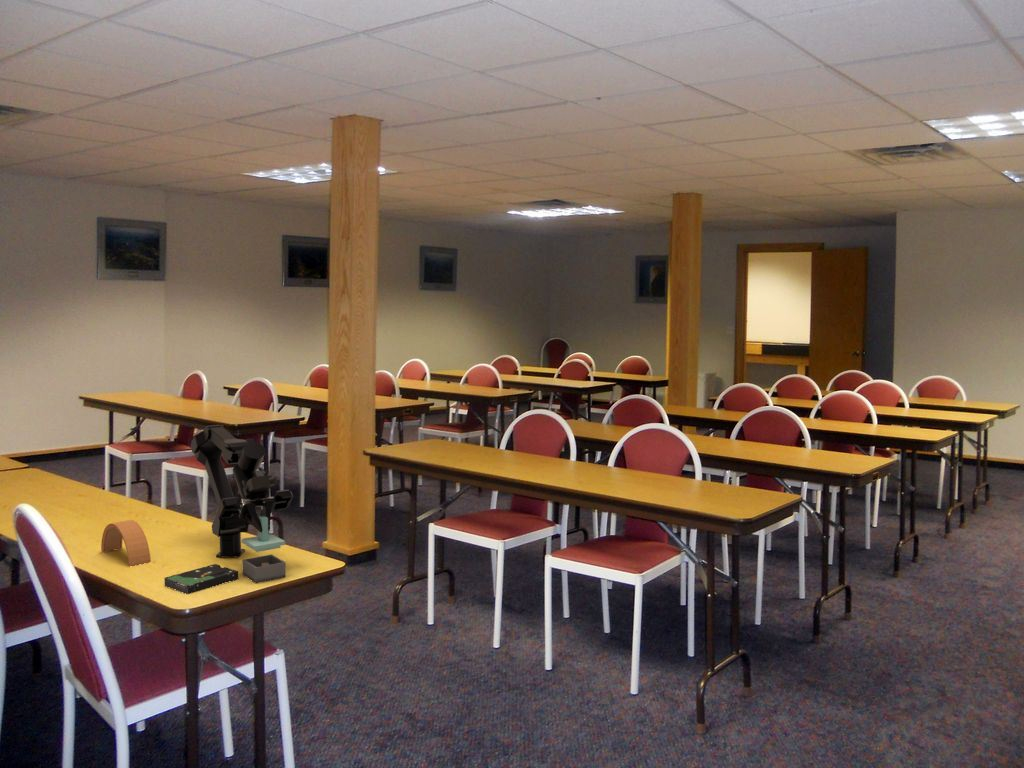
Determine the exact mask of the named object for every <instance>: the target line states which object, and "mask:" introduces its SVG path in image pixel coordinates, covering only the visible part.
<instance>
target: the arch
mask: <svg viewBox="0 0 1024 768" xmlns="http://www.w3.org/2000/svg"><path fill="white" fill-rule="evenodd" d="M141 526H142V525H140V524H139V523H138V522H137V521H136V520H134V519H129V520H122V521H119V522H113V523H109V524H107V525H106V526H105V528H104V530H103V533H102V536H101V544H100V547H101V549H100V551H102V552H101V553H105V552H104V551H108V552H110V551H109V550H113V551H115V550H114V549H118V550H121V549H120V548H122V549H123V542H124V546H125V549H126V554H127V561H128V567H130V566H132V567H136V566H140V565H139V564H141V565H145V564H144V563H146V564H149V562H151V553H150V548H149V543H148V539H147V536H146V535H145V534H146V533H145V531H144V530H143V528H142V527H141ZM135 565H136V566H135Z"/></svg>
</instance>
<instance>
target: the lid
mask: <svg viewBox="0 0 1024 768" xmlns="http://www.w3.org/2000/svg"><path fill="white" fill-rule="evenodd" d="M258 518H259V520H260V523H261V526H262V529H263V531H262V532H259V531H258V530H257V536H250V537H245V538H243V537H242V538H241V544H244V545H246V547H248V548H250V549H251V550H253V551H255V552H257V553H260V552H264V551H265V552H266V551H269V550H275V549H280V548H281V546H282V547H283V546H285V545H286V540H284V539H282V538H280V537H278V536H277V535H274V534H272V533H269V531H268V518H267V517H265V516H261V515H258Z"/></svg>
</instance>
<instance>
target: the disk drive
mask: <svg viewBox="0 0 1024 768" xmlns="http://www.w3.org/2000/svg"><path fill="white" fill-rule="evenodd" d="M237 579H238V580H239V571H238V570H235V569H232V568H229V567H227V566H224V567H221V565H220V564H217V563H214V564H209V565H207V566H202V567H199V568H195V569H192V570H191V569H190V570H187V571H184V572H181V573H177V574H173V575H170V576H166V577H164V587H166V586H167V587H166V588H168V587H170V588H169V589H171V588H173V589H172V590H174V589H176V590H175V591H177V590H178V591H177V592H179V591H180V593H182V592H183V594H185V593H186V595H189V594H193V593H197V592H200V591H203V590H206V588H207V589H210V587H211V588H213V587H212V586H214V587H217V586H220V585H219V584H221V585H223V584H222V583H224V584H226V583H225V582H228V583H230V582H229V581H231V582H234V581H237ZM233 580H234V581H233ZM216 585H217V586H216Z"/></svg>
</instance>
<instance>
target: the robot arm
mask: <svg viewBox="0 0 1024 768" xmlns="http://www.w3.org/2000/svg"><path fill="white" fill-rule="evenodd" d="M190 450H191V452H192V454H193V455H194V457H195V458H196V461H197V462H198V463H200V464H201V465H203V466H204V467H205V470H206V473H207V476H208V479H209V480H208V481H209V482H210V486H211V488H212V491H213V493H214V494H213V495H214V497H215V500H216V503H217V509H216V511H215V515H214V520H213V522H212V524H211V532H212V534H213V535H214V536H216V537H218V538H219V552H218V553H217V554H215V557H216V558H238V557H241V556H242V554H243V553H244V552H245V551H246V549H245V548H242V533H247V532H248V530H249V524H250V525H251V526H253V528H255V530H257V532H258V531H259V532H262V531H263V529H262V526H261V523H260V520H259V518H258V516H265V517H267V518H268V532H270V531H271V514H272V513H273V511H274V510H275V511H281V510H287V509H288V508H289V507H290V505H291V503H292V501H293V499H294V495H293V492H292V491H291V490H290V489H282V490H276V491H275V492H274V495H273V496H267V495H268V493H269V491H268V490H269V489H271V488H272V487H274V486H275V485H276V484H277V482H278V481H277V477H276V475H275V472H269V473H266V474H265V475H261V476H259V475H258V473H257V470H259V468H260V467H261V464H262V462H263V459H264V456H265V454H266V447H265V446H264V445H263V444H261V443H259V442H257V441H255V438H247V439H239V438H236V437H235V436H233V435H232V434H231V433H230V432H229V431H228V430H227V429H226V428H225V426H224V425H222V424H215V425H214V424H213V425H207V426H205V427H204V429H203V430H201V431H200V432H198V433H197V434H195V435H194V436H193V438H192V440H191V443H190ZM222 459H223V461H224V462H225V463H226V464H227V465H232V464H234V465H233V468H232V478H233V479H234V480H235V482H236V484H237V485H236V486H237V488H238V490H237V494H238V496H240V497H239V498H238V497H237V496H234V493H233V490H232V487H231V484H230V482H229V481H230V480H229V479H228V475H227V473H226V469H225V467H224V464H223V461H222ZM266 496H267V497H266ZM256 508H261V511H260V513H259V514H260V515H258V513H257V511H256Z"/></svg>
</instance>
